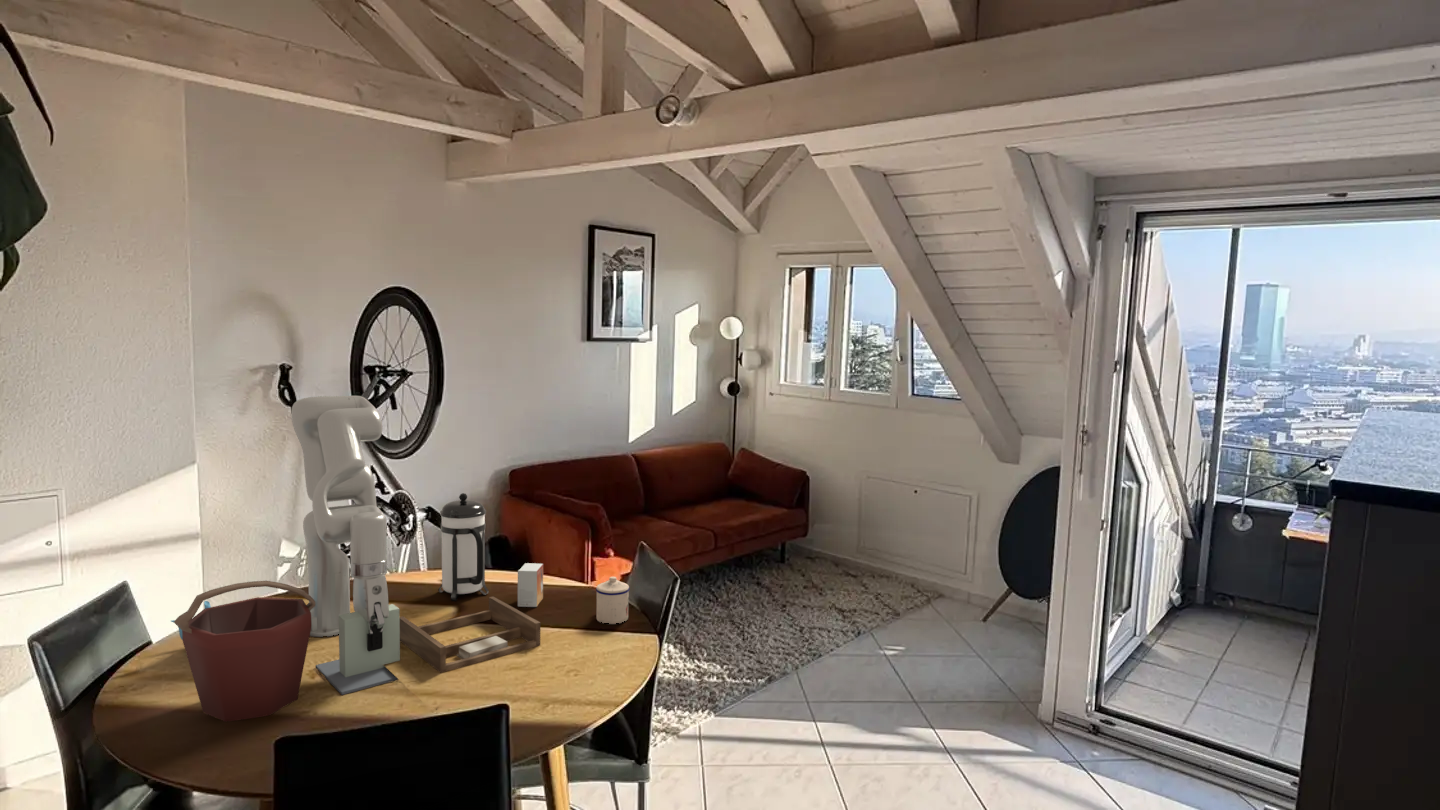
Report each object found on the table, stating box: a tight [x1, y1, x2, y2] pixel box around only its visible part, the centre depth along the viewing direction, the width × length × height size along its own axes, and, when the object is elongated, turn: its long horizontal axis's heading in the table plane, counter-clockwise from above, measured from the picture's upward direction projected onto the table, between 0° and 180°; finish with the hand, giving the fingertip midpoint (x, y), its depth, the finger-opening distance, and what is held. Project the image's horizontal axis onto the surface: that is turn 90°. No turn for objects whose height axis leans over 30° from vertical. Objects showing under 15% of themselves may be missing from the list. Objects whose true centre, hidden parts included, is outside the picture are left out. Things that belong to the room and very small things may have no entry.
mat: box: [315, 659, 400, 696], centre depth 183 cm, size 18×18×1 cm
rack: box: [400, 596, 541, 673], centre depth 197 cm, size 25×25×7 cm
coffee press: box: [437, 493, 490, 602], centre depth 235 cm, size 17×16×30 cm
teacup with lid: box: [595, 576, 631, 625], centre depth 220 cm, size 12×9×12 cm
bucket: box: [173, 580, 316, 723], centre depth 166 cm, size 24×22×25 cm
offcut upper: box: [459, 636, 508, 658], centre depth 191 cm, size 10×5×2 cm, turn 138°
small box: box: [517, 562, 544, 608], centre depth 230 cm, size 8×6×10 cm
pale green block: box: [338, 603, 401, 677], centre depth 182 cm, size 12×4×13 cm, turn 133°
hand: (369, 644), depth 182 cm, fingers open, 5 cm apart
